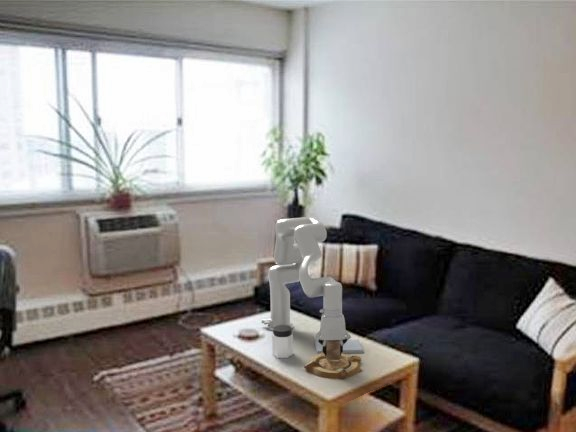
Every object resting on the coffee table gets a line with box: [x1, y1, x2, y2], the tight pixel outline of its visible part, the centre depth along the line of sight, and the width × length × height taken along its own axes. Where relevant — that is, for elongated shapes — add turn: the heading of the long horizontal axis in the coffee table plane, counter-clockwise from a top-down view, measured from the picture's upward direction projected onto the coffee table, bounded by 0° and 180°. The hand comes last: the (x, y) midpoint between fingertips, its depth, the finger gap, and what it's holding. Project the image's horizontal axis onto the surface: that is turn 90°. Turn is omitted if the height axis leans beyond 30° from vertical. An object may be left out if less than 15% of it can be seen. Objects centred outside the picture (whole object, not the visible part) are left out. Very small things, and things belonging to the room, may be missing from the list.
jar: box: [271, 325, 294, 359], centre depth 244 cm, size 9×8×12 cm
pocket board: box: [314, 338, 364, 355], centre depth 251 cm, size 20×12×2 cm, turn 92°
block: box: [326, 340, 340, 360], centre depth 232 cm, size 6×6×8 cm
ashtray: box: [304, 349, 363, 380], centre depth 232 cm, size 24×24×5 cm
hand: (332, 353), depth 232 cm, fingers closed on block, 5 cm apart
